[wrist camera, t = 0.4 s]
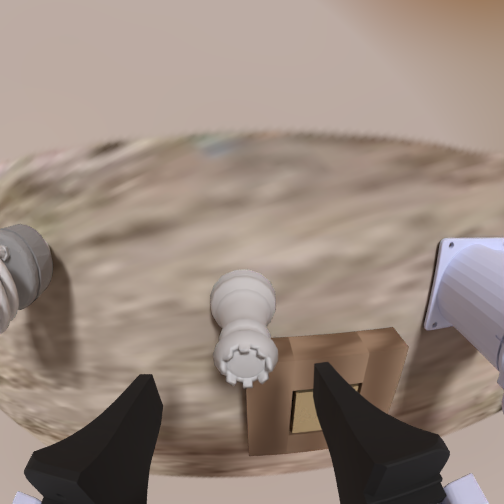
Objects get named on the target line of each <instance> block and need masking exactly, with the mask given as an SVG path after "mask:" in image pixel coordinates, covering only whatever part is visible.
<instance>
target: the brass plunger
mask: <svg viewBox="0 0 504 504" xmlns="http://www.w3.org/2000/svg"><path fill="white" fill-rule="evenodd" d="M350 385H351V386H352V387H353V388H354V389H355V390H356V391H357V390H358V384H357V383H356V384H350ZM291 429H292V433H299V432H308V431H317V430H322V429H321V426H320V423H319V420H318V417H317V414H316V409H315V404H314V399H313V389H307V390H296V391H294V395H293V406H292V416H291Z"/></svg>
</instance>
